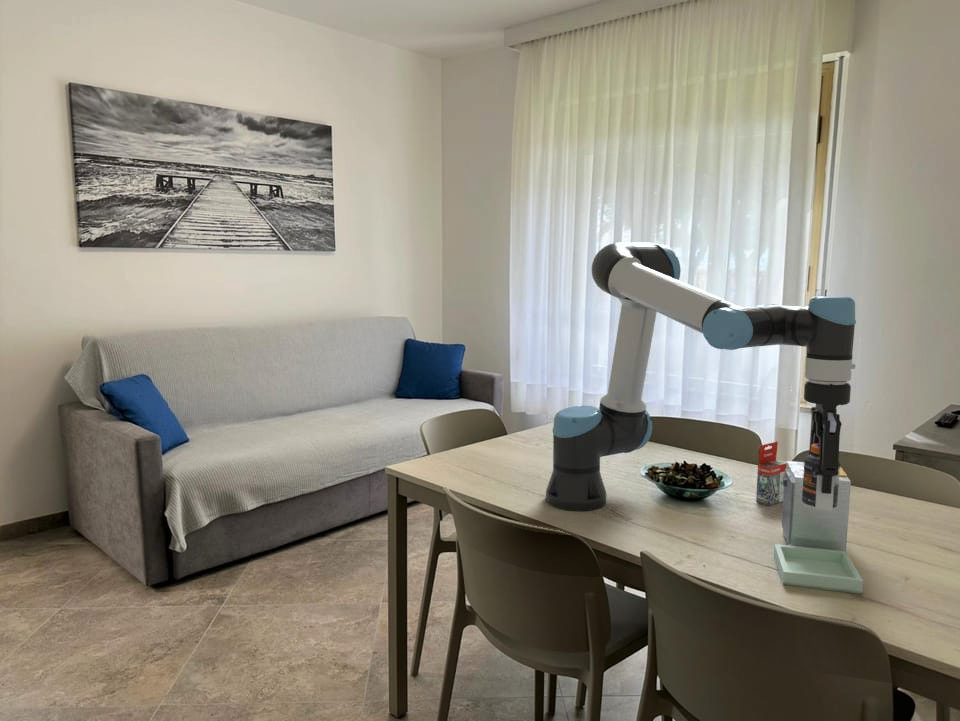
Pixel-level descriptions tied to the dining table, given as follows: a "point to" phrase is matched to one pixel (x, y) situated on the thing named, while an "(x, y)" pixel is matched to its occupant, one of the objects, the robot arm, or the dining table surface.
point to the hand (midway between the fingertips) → (820, 502)
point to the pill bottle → (815, 478)
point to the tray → (817, 569)
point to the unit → (813, 514)
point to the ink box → (770, 476)
